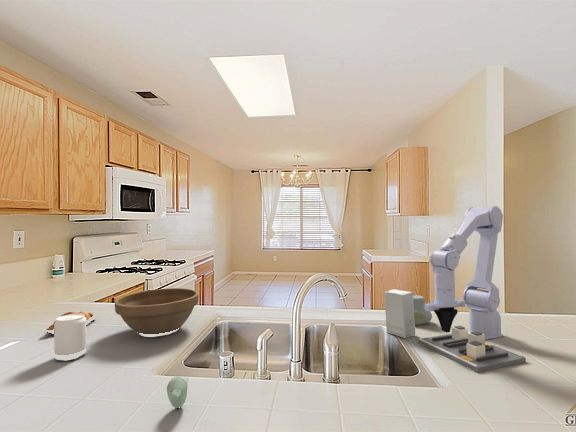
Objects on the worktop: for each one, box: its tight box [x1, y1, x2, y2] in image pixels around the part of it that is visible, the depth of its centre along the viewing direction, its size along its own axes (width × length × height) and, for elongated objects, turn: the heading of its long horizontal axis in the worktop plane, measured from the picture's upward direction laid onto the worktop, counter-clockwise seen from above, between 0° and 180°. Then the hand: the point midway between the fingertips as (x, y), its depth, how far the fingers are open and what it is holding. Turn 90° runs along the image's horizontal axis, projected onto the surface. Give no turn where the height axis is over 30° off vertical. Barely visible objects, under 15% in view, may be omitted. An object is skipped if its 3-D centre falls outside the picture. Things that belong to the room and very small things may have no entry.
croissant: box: [45, 311, 95, 331], centre depth 127 cm, size 21×10×8 cm, turn 166°
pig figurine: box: [166, 375, 189, 409], centre depth 72 cm, size 8×4×7 cm, turn 2°
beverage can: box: [53, 314, 88, 355], centre depth 100 cm, size 8×8×12 cm
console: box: [417, 333, 527, 373], centre depth 100 cm, size 18×22×2 cm
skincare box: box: [383, 288, 416, 339], centre depth 116 cm, size 8×6×15 cm
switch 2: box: [467, 341, 485, 360], centre depth 93 cm, size 4×3×4 cm
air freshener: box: [413, 294, 433, 326], centre depth 128 cm, size 11×8×10 cm
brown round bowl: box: [114, 287, 199, 334], centre depth 122 cm, size 28×28×13 cm
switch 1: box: [451, 325, 469, 340], centre depth 106 cm, size 4×3×4 cm
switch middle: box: [468, 331, 486, 345], centre depth 101 cm, size 4×3×4 cm
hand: (445, 331), depth 105 cm, fingers closed
